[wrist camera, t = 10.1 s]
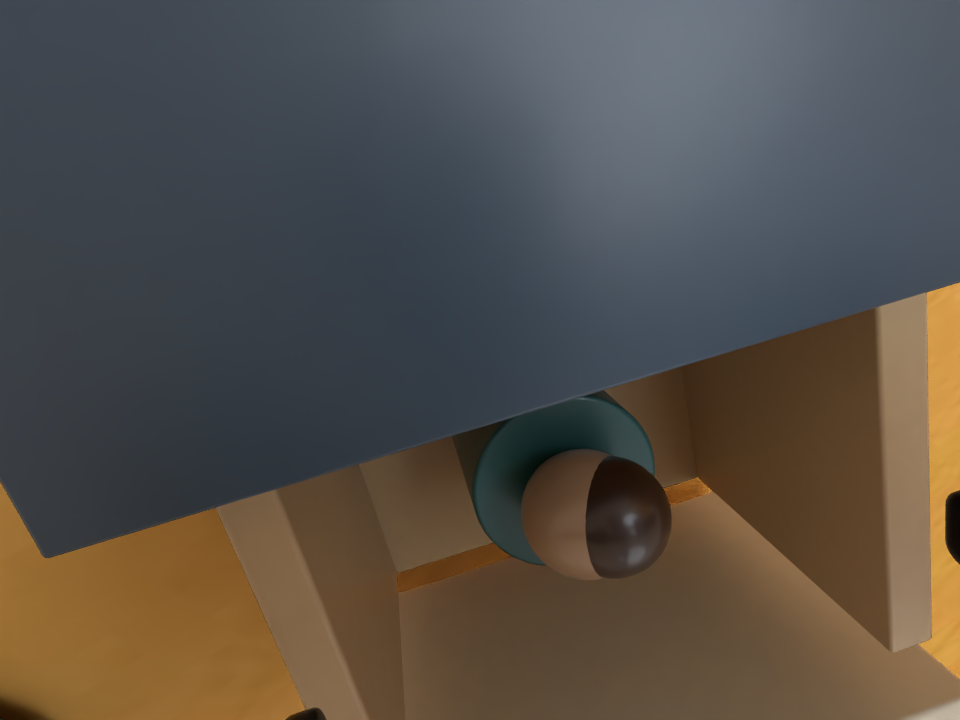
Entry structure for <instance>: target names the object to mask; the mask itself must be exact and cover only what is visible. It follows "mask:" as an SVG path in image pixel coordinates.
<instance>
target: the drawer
mask: <svg viewBox="0 0 960 720" xmlns="http://www.w3.org/2000/svg"><path fill="white" fill-rule="evenodd" d="M604 391H605V392H607V393H608V394H609V395H610V396H611V397H612V398H613V399H614V400H615V401H617V402H618V403H619V404H620V405H621V406H622V407H623V408H624V409H626V410H627V411H628V412H629V413H630V414H631V415H632V416H633V417H634V418H635V419H636V420H637V421H638V422H639V424H640V425H641V426H642V428H643V429H644V431H645V433H646V434H647V436H648V439H649V441H650V444H651V447H652V451H653V455H654V463H655V478H656V479H657V480H658V482H659V483H660V484H661V486H662V487H663V488H666V487H669V486H672V485H675V484H678V483H681V482H685V481H688V480H691V479H694V478H697V477H699V479H700V480H701V481H702V482H703V483H704V484H706V485H707V486H708V487H709V488H710V489H711V490H712V491H713V492H710V493H707V494H704V495H701V496H698V497H695V498H692V499H689V500H686V501H683V502H680V503H676V504H673V505H670V508H671V514H672V528H671V533H670V537H669V540H668V543H667V545H666V548H665V549H664V551H663V553H662V554H661V556H660V557H659V558H658V559H657V560H656V561H655V562H654V563H653V564H652V565H651V566H650V567H649V568H647V569H646V570H644V571H642V572H640V573H638V574H636V575H633V576H630V577H626V578H620V579H610V578H604V579H599V580H577V579H572V578H569V577H566V576H564V575H561V574H559V573H557V572H555V571H554V570H552V569H551V568H549V567H548V566H540V565H535V564H531V563H527V562H524V561H521V560H519V559H517V558H515V557H513V556H512V557H509V558H506V559H503V560H500V561H497V562H494V563H491V564H488V565H485V566H481V567H478V568H475V569H472V570H469V571H466V572H463V573H460V574H457V575H454V576H451V577H447V578H444V579H441V580H438V581H435V582H432V583H429V584H426V585H423V586H420V587H416V588H413V589H410V590H407V591H404V592H401V593H398V577H397V573H400V572H404V571H407V570H410V569H413V568H416V567H419V566H422V565H425V564H429V563H432V562H435V561H438V560H441V559H444V558H447V557H450V556H454V555H457V554H460V553H463V552H466V551H469V550H472V549H475V548H478V547H482V546H485V545H488V544H491V543H493V542H492V541H491V540H490V538H489V537H488V536H487V535H486V533H485V532H484V530H483V529H482V527H481V525H480V523H479V521H478V519H477V516H476V513H475V510H474V507H473V504H472V500H471V497H470V494H469V491H468V487H467V484H466V481H465V477H464V474H463V471H462V467H461V464H460V461H459V458H458V454H457V451H456V448H455V444H454V441H453V438H452V436H451V437H447V438H444V439H441V440H437V441H434V442H431V443H427V444H424V445H421V446H417V447H414V448H411V449H408V450H404V451H401V452H398V453H394V454H391V455H388V456H384V457H381V458H378V459H375V460H371V461H368V462H365V463H361V464H358V465H355V466H351V467H348V468H345V469H342V470H338V471H335V472H332V473H328V474H325V475H322V476H318V477H315V478H312V479H309V480H305V481H302V482H299V483H295V484H292V485H289V486H285V487H282V488H279V489H276V490H272V491H269V492H266V493H262V494H259V495H256V496H252V497H249V498H246V499H242V500H239V501H236V502H233V503H229V504H226V505H223V506H219V507H216V510H217V512H218V515H219V517H220V519H221V521H222V524H223V526H224V528H225V530H226V532H227V535H228V537H229V539H230V541H231V544H232V546H233V548H234V550H235V553H236V555H237V557H238V559H239V562H240V564H241V566H242V568H243V570H244V573H245V575H246V577H247V579H248V582H249V584H250V586H251V588H252V591H253V593H254V595H255V597H256V600H257V602H258V604H259V606H260V608H261V611H262V613H263V615H264V617H265V620H266V622H267V624H268V626H269V629H270V631H271V633H272V635H273V638H274V640H275V642H276V644H277V646H278V649H279V651H280V653H281V655H282V658H283V660H284V662H285V664H286V667H287V669H288V671H289V673H290V676H291V678H292V680H293V682H294V684H295V687H296V689H297V691H298V693H299V696H300V698H301V700H302V702H303V705H304V707H305V709H306V710H308V709H310V708H314V707H317V708H320V709H321V710H322V712H323V713H324V715H325V717H326V719H327V720H960V679H959V678H958V677H957V676H955V675H954V674H953V673H952V672H951V671H949V670H948V669H947V668H946V667H945V666H944V665H942V664H941V663H940V662H939V661H938V660H936V659H935V658H934V657H933V656H932V655H931V654H929V653H928V652H927V651H926V650H925V649H923V648H922V647H921V646H920V645H919V643H922V642H925V641H928V640H930V639H931V637H932V624H931V557H930V490H929V423H928V356H927V292H926V293H923V294H919V295H916V296H913V297H910V298H906V299H903V300H900V301H896V302H893V303H890V304H886V305H883V306H880V307H876V308H873V309H870V310H867V311H863V312H860V313H857V314H853V315H850V316H847V317H843V318H840V319H837V320H834V321H830V322H827V323H824V324H820V325H817V326H814V327H810V328H807V329H804V330H801V331H797V332H794V333H791V334H787V335H784V336H781V337H777V338H774V339H771V340H768V341H764V342H761V343H758V344H754V345H751V346H748V347H744V348H741V349H738V350H734V351H731V352H728V353H725V354H721V355H718V356H715V357H711V358H708V359H705V360H701V361H698V362H695V363H692V364H688V365H685V366H682V367H678V368H675V369H672V370H668V371H665V372H662V373H659V374H655V375H652V376H649V377H645V378H642V379H639V380H635V381H632V382H629V383H626V384H622V385H619V386H616V387H612V388H609V389H606V390H604Z"/></svg>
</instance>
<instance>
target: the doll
mask: <svg viewBox="0 0 960 720" xmlns="http://www.w3.org/2000/svg"><path fill="white" fill-rule="evenodd" d="M452 438H453V441H454V444H455V448H456V451H457V454H458V458H459V461H460V464H461V467H462V471H463V474H464V477H465V481H466V484H467V487H468V491H469V494H470V497H471V500H472V504H473V507H474V510H475V513H476V516H477V519H478V521H479V523H480V525H481V527H482V529H483V530H484V532H485V533H486V535H487V536H488V537H489V538H490V540H491V541H492V542H493V543H494V544H495V545H497V546H498V547H499V548H500V549H502V550H503V551H504V552H506V553H507V554H509V555H511V556H513V557H515V558H517V559H519V560H521V561H524V562H527V563H531V564H535V565H540V566H548V567H549V568H551V569H552V570H554V571H555V572H557V573H559V574H561V575H564V576H566V577H569V578H572V579H577V580H599V579H604V578H610V579H620V578H626V577H630V576H633V575H636V574H638V573H640V572H642V571H644V570H646V569H647V568H649V567H650V566H651V565H652V564H653V563H654V562H655V561H656V560H657V559H658V558H659V557H660V556H661V554H662V553H663V551H664V549H665V548H666V545H667V543H668V540H669V537H670V533H671V528H672V514H671V508H670V504H669V500H668V498H667V495H666V493H665V491H664V489H663V487H662V486H661V484H660V483H659V482H658V480H657V479H656V478H655V463H654V455H653V451H652V447H651V444H650V441H649V439H648V436H647V434H646V433H645V431H644V429H643V428H642V426H641V425H640V424H639V422H638V421H637V420H636V419H635V418H634V417H633V416H632V415H631V414H630V413H629V412H628V411H627V410H626V409H624V408H623V407H622V406H621V405H620V404H619V403H618V402H617V401H615V400H614V399H613V398H612V397H611V396H610V395H609V394H608V393H607V392H605V391H604V390H602V391H599V392H596V393H593V394H589V395H586V396H583V397H579V398H576V399H573V400H569V401H566V402H563V403H559V404H556V405H553V406H550V407H546V408H543V409H540V410H536V411H533V412H530V413H526V414H523V415H520V416H517V417H513V418H510V419H507V420H503V421H500V422H497V423H493V424H490V425H487V426H484V427H480V428H477V429H474V430H470V431H467V432H464V433H460V434H457V435H454V436H452Z"/></svg>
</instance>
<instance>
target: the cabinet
mask: <svg viewBox="0 0 960 720" xmlns="http://www.w3.org/2000/svg"><path fill="white" fill-rule="evenodd" d="M959 282H960V0H0V482H1V484H2V485H3V487H4V489H5V491H6V492H7V494H8V496H9V498H10V499H11V501H12V503H13V505H14V506H15V508H16V510H17V512H18V513H19V515H20V517H21V519H22V521H23V522H24V524H25V526H26V528H27V529H28V531H29V533H30V535H31V536H32V538H33V540H34V542H35V543H36V545H37V547H38V549H39V550H40V552H41V554H42V556H44V557H45V558H51V557H54V556H58V555H61V554H64V553H67V552H71V551H74V550H77V549H81V548H84V547H87V546H91V545H94V544H97V543H101V542H104V541H107V540H110V539H114V538H117V537H120V536H124V535H127V534H130V533H134V532H137V531H140V530H143V529H147V528H150V527H153V526H157V525H160V524H163V523H167V522H170V521H173V520H176V519H180V518H183V517H186V516H190V515H193V514H196V513H200V512H203V511H206V510H209V509H213V508H216V507H219V506H223V505H226V504H229V503H233V502H236V501H239V500H242V499H246V498H249V497H252V496H256V495H259V494H262V493H266V492H269V491H272V490H276V489H279V488H282V487H285V486H289V485H292V484H295V483H299V482H302V481H305V480H309V479H312V478H315V477H318V476H322V475H325V474H328V473H332V472H335V471H338V470H342V469H345V468H348V467H351V466H355V465H358V464H361V463H365V462H368V461H371V460H375V459H378V458H381V457H384V456H388V455H391V454H394V453H398V452H401V451H404V450H408V449H411V448H414V447H417V446H421V445H424V444H427V443H431V442H434V441H437V440H441V439H444V438H447V437H451V436H454V435H457V434H460V433H464V432H467V431H470V430H474V429H477V428H480V427H484V426H487V425H490V424H493V423H497V422H500V421H503V420H507V419H510V418H513V417H517V416H520V415H523V414H526V413H530V412H533V411H536V410H540V409H543V408H546V407H550V406H553V405H556V404H559V403H563V402H566V401H569V400H573V399H576V398H579V397H583V396H586V395H589V394H593V393H596V392H599V391H602V390H606V389H609V388H612V387H616V386H619V385H622V384H626V383H629V382H632V381H635V380H639V379H642V378H645V377H649V376H652V375H655V374H659V373H662V372H665V371H668V370H672V369H675V368H678V367H682V366H685V365H688V364H692V363H695V362H698V361H701V360H705V359H708V358H711V357H715V356H718V355H721V354H725V353H728V352H731V351H734V350H738V349H741V348H744V347H748V346H751V345H754V344H758V343H761V342H764V341H768V340H771V339H774V338H777V337H781V336H784V335H787V334H791V333H794V332H797V331H801V330H804V329H807V328H810V327H814V326H817V325H820V324H824V323H827V322H830V321H834V320H837V319H840V318H843V317H847V316H850V315H853V314H857V313H860V312H863V311H867V310H870V309H873V308H876V307H880V306H883V305H886V304H890V303H893V302H896V301H900V300H903V299H906V298H910V297H913V296H916V295H919V294H923V293H926V292H929V291H933V290H936V289H939V288H943V287H946V286H949V285H952V284H956V283H959Z"/></svg>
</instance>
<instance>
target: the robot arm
mask: <svg viewBox="0 0 960 720" xmlns="http://www.w3.org/2000/svg"><path fill="white" fill-rule="evenodd" d="M945 540H946V545H947V548H948V550H949V552H950V554H951V555H952V556H953V558H954V559H955V560H956V561H957V562H958V563H959V564H960V490H959V491H956V492H953V493H951V494H950V495H949V496H948V498H947V499H946V516H945ZM286 720H327V719H326V717H325V715H324V713H323V712H322V710H321V709H320V708H317V707H314V708H310V709H308V710H305V711H302V712H299V713H296V714H293V715H291V716H289V717H288V718H287V719H286Z"/></svg>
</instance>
